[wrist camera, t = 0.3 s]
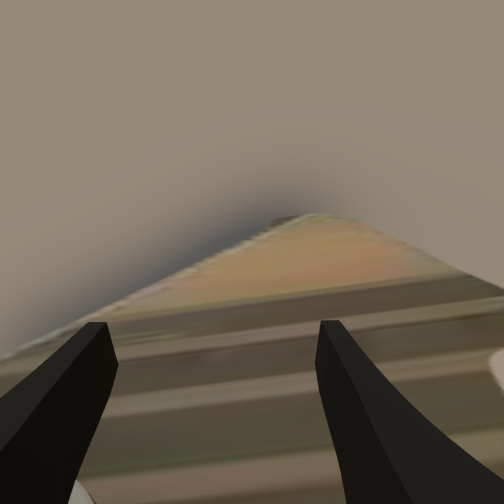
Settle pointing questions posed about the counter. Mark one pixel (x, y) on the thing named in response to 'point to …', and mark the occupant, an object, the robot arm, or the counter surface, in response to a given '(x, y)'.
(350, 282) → the counter surface
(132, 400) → the counter surface
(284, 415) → the counter surface
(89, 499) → the canned food
